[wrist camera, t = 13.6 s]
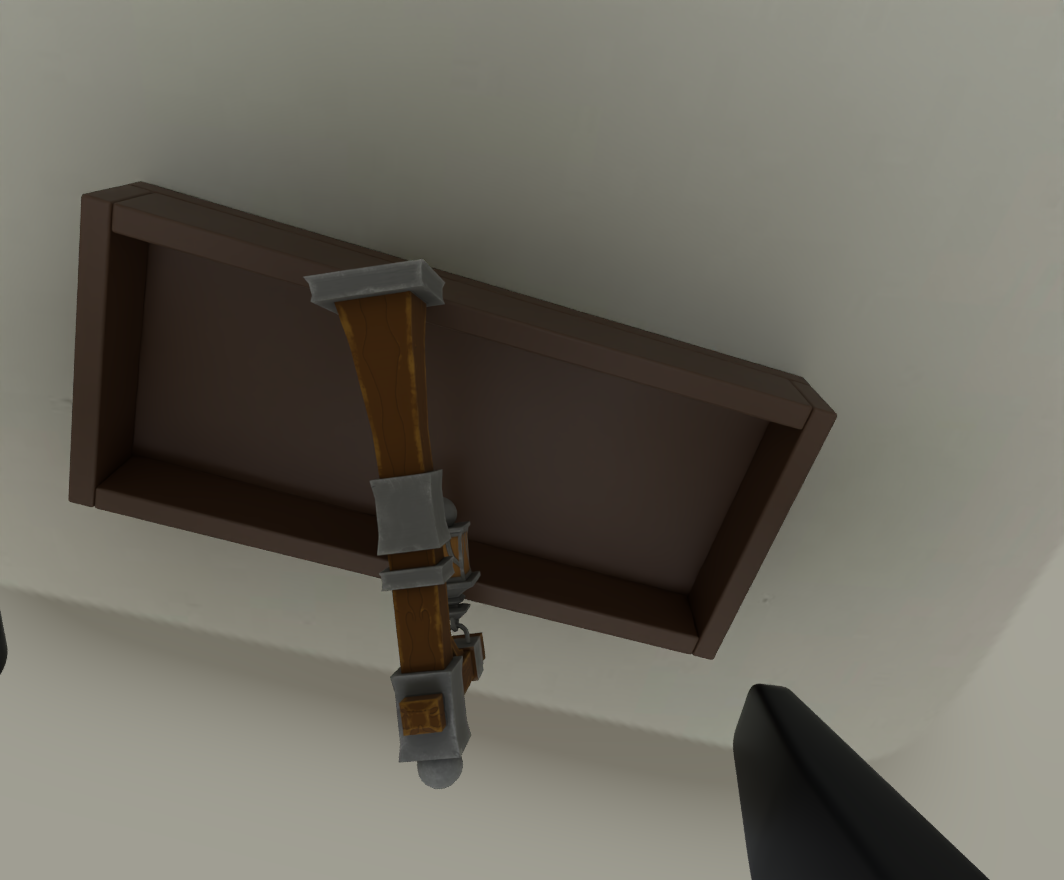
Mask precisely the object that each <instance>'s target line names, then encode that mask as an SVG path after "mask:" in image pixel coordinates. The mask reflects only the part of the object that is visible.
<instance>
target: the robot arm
mask: <svg viewBox="0 0 1064 880" xmlns="http://www.w3.org/2000/svg"><path fill="white" fill-rule="evenodd" d="M6 659H7V643H6V638H5V633H4V628H3V622H2V617H1V612H0V674H1V672H2V670H3V668H4V666H5V663H6ZM733 752H734V760H735V767H736V774H737V782H738V788H739V796H740V803H741V811H742V818H743V825H744V832H745V840H746V847H747V854H748V861H749V867H750V873H751V878H752V880H989V879H988V878H987V877H986V876H985V875H984V874H983V873H982V872H981V871H980V870H979V869H978V868H977V867H976V866H975V865H974V864H973V863H971V862H970V861H969V860H968V859H967V858H966V857H965V856H964V855H963V854H962V853H961V852H960V851H959V850H958V849H957V848H956V847H955V846H954V845H953V844H952V843H950V842H949V841H948V840H947V839H946V838H945V837H944V836H943V835H942V834H941V833H940V832H939V831H938V830H937V829H936V828H935V827H934V826H933V825H932V824H931V823H929V822H928V821H927V820H926V819H925V818H924V817H923V816H922V815H921V814H920V813H919V812H918V811H917V810H916V809H915V808H914V807H913V806H911V804H910V803H908V802H907V801H906V800H905V799H904V798H903V797H902V796H901V795H900V794H899V793H898V792H897V791H896V790H895V789H894V788H893V787H892V786H891V785H890V784H889V783H887V782H886V781H885V780H884V779H883V778H882V777H881V776H880V775H879V774H878V773H877V772H876V771H875V770H874V769H873V768H872V767H870V765H869V764H867V763H866V762H865V761H864V760H863V759H862V758H861V757H860V756H859V755H858V754H857V753H856V752H855V751H854V750H853V749H852V748H851V747H850V746H849V745H848V744H846V743H845V742H844V741H843V740H842V739H841V738H840V737H839V736H838V735H837V734H836V733H835V732H834V731H833V730H832V729H831V728H830V727H829V726H828V725H827V724H825V723H824V722H823V721H822V720H821V719H820V718H819V717H818V716H817V715H816V714H815V713H814V712H813V711H812V710H811V709H810V708H809V707H808V706H807V705H805V704H804V703H803V702H802V701H801V700H800V699H799V698H798V697H797V696H796V695H795V694H794V693H793V692H792V691H790V690H789V689H788V688H786V687H782V686H775V685H766V684H756V685H754V686H752V687H751V689H750V690H749V692H748V695H747V698H746V701H745V704H744V706H743V709H742V712H741V715H740V718H739V721H738V724H737V727H736V730H735V733H734V740H733Z"/></svg>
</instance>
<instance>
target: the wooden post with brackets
mask: <svg viewBox="0 0 1064 880" xmlns="http://www.w3.org/2000/svg"><path fill="white" fill-rule="evenodd" d="M304 278H305V280H306V281H307V282H308V283H309V286H310V290H311V294H312V297H311V301H310V302H312V303H314V304H317V305H319V306H321V307H323V308H325V309H327V310H330V311H332V312H334V313H336V314H338V315H339V318H340V321H341V323H342V326H343V329H344V332H345V334H346V337H347V340H348V343H349V346H350V349H351V353H352V357H353V361H354V365H355V369H356V372H357V376H358V380H359V384H360V388H361V392H362V396H363V399H364V403H365V407H366V411H367V415H368V419H369V423H370V427H371V430H372V435H373V441H374V447H375V454H376V460H377V466H378V472H379V479H375V480H371V481H370V484H371V488H372V491H373V494H374V497H375V504H376V513H377V523H378V532H379V540H378V551H377V556H378V555H386V554H387V556H388V562H389V567H388V568H386V569H385V570H383V571H382V572H380V573H379V575H380V576H381V579H382V591H388V590H392V593H393V602H394V611H395V620H396V629H397V638H398V647H399V656H400V665H401V667H400V668H399V669H398V670H397V671H396V672H395V673H394V674H393V675H392V676H391V677H390V678H391V681H392V685H393V688H394V691H395V697H396V707H397V717H398V727H399V737H400V753H399V762H411V761H417V767H418V773H419V777H420V778H421V780H422V781H423V782H424V783H425V784H426V785H427V786H430V787H432V788H434V789H443V788H446V787H449V786H451V785H452V784H453V783H454V782H455V781H456V780H457V779H458V778H459V776H460V774H461V772H462V768H463V761H462V757H461V755H462V753H463V751H464V749H465V747H466V745H467V743H468V741H469V738H470V737H471V732H470V729H469V726H468V722H467V717H466V708H465V698H464V695H465V693H466V691H467V689H468V687H469V685H470V683H471V681H476V680H479V678H480V676H481V674H482V672H483V664H484V663H483V660H484V659H485V651H484V643H483V636H482V633H473V634H469V632H468V629H467V628H466V627H465V626H464V625H463V624H460V623H459V618H461V617H462V616H463V615H464V614H465V613H466V612H467V610H468V609H469V607H470V604H466V603H462V604H459V603H461V602H462V601H463V600H464V598H465V597H466V596H465V595H464V594H462V593H463V592H464V591H465V590H467V589H469V588H471V587H473V586H474V584H475V583H476V581H477V580H478V578H479V577H480V571H475V572H472V571H471V568H470V565H469V552H468V538H467V533H468V527H469V526H470V521H467V522H459V523H455V521H456V518H457V510H456V507H455V505H454V503H453V502H452V501H451V500H449V499H447V498H444V497H443V494H442V470H443V469H441V470H433V462H432V454H431V446H430V438H429V430H428V410H427V387H426V363H425V325H426V307H429V306H436V305H443V304H445V303H444V301H443V297H442V288H443V286H444V284H445V282H444V281H443V280H442V279H441V278H440V277H439V275H438V274H437V273H436V272H435V271H434V270H433V269H432V268H431V267H430V266H429V265H428V264H427V263H426V262H425V261H424V260H423V259H418V260H411V261H404V262H398V263H391V264H384V265H378V266H371V267H364V268H358V269H351V270H344V271H338V272H331V273H325V274H318V275H311V276H305V277H304ZM450 623H451V625H450ZM458 628H460V629H462V630H463V631H464V635H456V636H451V629H452V630H453V631H454V632H456V631H458Z"/></svg>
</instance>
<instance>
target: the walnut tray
mask: <svg viewBox="0 0 1064 880" xmlns="http://www.w3.org/2000/svg"><path fill="white" fill-rule="evenodd" d="M404 261H408V260H404V259H401V258H398V257H394V256H391V255H388V254H384V253H381V252H377V251H374V250H371V249H367V248H364V247H361V246H357V245H354V244H350V243H347V242H344V241H340V240H337V239H334V238H330V237H327V236H323V235H320V234H317V233H313V232H310V231H307V230H303V229H300V228H296V227H293V226H290V225H286V224H283V223H280V222H276V221H273V220H269V219H266V218H263V217H259V216H256V215H253V214H249V213H246V212H242V211H239V210H236V209H232V208H229V207H226V206H222V205H219V204H215V203H212V202H209V201H205V200H202V199H199V198H195V197H192V196H188V195H185V194H182V193H178V192H175V191H172V190H168V189H165V188H161V187H158V186H155V185H151V184H148V183H145V182H135V183H131V184H128V185H122V186H118V187H113V188H109V189H104V190H100V191H95V192H90V193H86V194H83V195H82V197H81V219H80V243H79V266H78V289H77V313H76V336H75V360H74V383H73V406H72V430H71V453H70V476H69V501H70V502H73V503H77V504H81V505H85V506H89V507H94V506H95V508H97V509H101V510H105V511H109V512H113V513H117V514H121V515H125V516H129V517H134V518H138V519H142V520H146V521H150V522H154V523H158V524H162V525H166V526H170V527H174V528H178V529H182V530H186V531H190V532H194V533H198V534H203V535H207V536H211V537H215V538H219V539H223V540H227V541H231V542H235V543H239V544H243V545H247V546H251V547H255V548H259V549H263V550H268V551H272V552H276V553H280V554H284V555H288V556H292V557H296V558H300V559H304V560H308V561H312V562H316V563H320V564H324V565H328V566H333V567H337V568H341V569H345V570H349V571H353V572H357V573H361V574H365V575H369V576H373V577H377V578H381V576H380V575H379V573H380V572H382V571H383V570H385V569H386V568H388V567H389V562H388V556H387V554H386V555H378V556H377V551H378V540H379V532H378V523H377V513H376V504H375V497H374V494H373V491H372V488H371V484H370V481H371V480H375V479H379V472H378V466H377V460H376V454H375V447H374V441H373V435H372V430H371V427H370V423H369V419H368V415H367V411H366V407H365V403H364V399H363V396H362V392H361V388H360V384H359V380H358V376H357V372H356V369H355V365H354V361H353V357H352V353H351V349H350V346H349V343H348V340H347V337H346V334H345V332H344V329H343V326H342V323H341V321H340V318H339V315H338V314H336V313H334V312H332V311H330V310H327V309H325V308H323V307H321V306H319V305H317V304H314V303H312V302H310V301H311V297H312V294H311V290H310V286H309V283H308V282H307V281H306V280H305V278H304V277H305V276H311V275H318V274H325V273H331V272H338V271H344V270H351V269H358V268H364V267H371V266H378V265H384V264H391V263H398V262H404ZM432 269H433V270H434V271H435V272H436V273H437V274H438V275H439V277H440V278H441V279H442V280H443V281H444V282H445V284H444V286H443V288H442V297H443V301H444V303H445V304H443V305H436V306H429V307H426V325H425V363H426V387H427V410H428V430H429V438H430V446H431V454H432V462H433V470H441V469H443V470H442V494H443V497H444V498H447V499H449V500H451V501H452V502H453V503H454V505H455V507H456V510H457V518H456V521H455V523H459V522H467V521H470V526H469V527H468V533H467V538H468V552H469V565H470V568H471V571H472V572H475V571H480V577H479V578H478V580H477V581H476V583H475V584H474V586H473V587H471V588H469V589H467V590H465V591H464V592H463V593H462V594H464V595H465V596H466V597H465V598H464V599H467V600H471V601H475V602H479V603H483V604H487V605H491V606H495V607H499V608H503V609H507V610H511V611H515V612H519V613H523V614H528V615H532V616H536V617H540V618H544V619H548V620H552V621H556V622H560V623H564V624H568V625H572V626H576V627H580V628H584V629H588V630H592V631H597V632H601V633H605V634H609V635H613V636H617V637H621V638H625V639H629V640H633V641H637V642H641V643H645V644H649V645H653V646H657V647H662V648H666V649H670V650H674V651H678V652H682V653H686V654H693V655H694V656H698V657H702V658H706V659H710V660H713V659H714V657H715V655H716V653H717V651H718V649H719V647H720V645H721V643H722V641H723V639H724V637H725V635H726V633H727V631H728V629H729V628H730V626H731V624H732V622H733V620H734V618H735V616H736V614H737V612H738V610H739V608H740V606H741V604H742V602H743V600H744V598H745V596H746V594H747V592H748V590H749V588H750V586H751V584H752V582H753V580H754V579H755V577H756V575H757V573H758V571H759V569H760V567H761V565H762V563H763V561H764V559H765V557H766V555H767V553H768V551H769V549H770V547H771V545H772V543H773V541H774V539H775V537H776V535H777V533H778V532H779V530H780V528H781V526H782V524H783V522H784V520H785V518H786V516H787V514H788V512H789V510H790V508H791V506H792V504H793V502H794V500H795V498H796V496H797V494H798V492H799V490H800V488H801V486H802V484H803V483H804V481H805V479H806V477H807V475H808V473H809V471H810V469H811V467H812V465H813V463H814V461H815V459H816V457H817V455H818V453H819V451H820V449H821V447H822V445H823V443H824V441H825V439H826V437H827V435H828V434H829V432H830V430H831V428H832V426H833V424H834V422H835V420H836V418H837V414H836V413H835V411H834V410H833V409H832V408H831V407H830V406H829V405H828V404H827V403H826V402H825V401H824V400H823V399H822V398H821V396H820V395H819V394H818V393H817V392H816V391H815V390H814V389H813V388H812V387H811V386H810V385H809V383H808V382H807V381H806V380H805V379H804V378H803V377H799V376H796V375H793V374H789V373H786V372H782V371H779V370H776V369H772V368H769V367H766V366H762V365H759V364H755V363H752V362H749V361H745V360H742V359H739V358H735V357H732V356H728V355H725V354H722V353H718V352H715V351H712V350H708V349H705V348H701V347H698V346H695V345H691V344H688V343H685V342H681V341H678V340H674V339H671V338H668V337H664V336H661V335H658V334H654V333H651V332H647V331H644V330H641V329H637V328H634V327H631V326H627V325H624V324H620V323H617V322H614V321H610V320H607V319H604V318H600V317H597V316H593V315H590V314H587V313H583V312H580V311H577V310H573V309H570V308H566V307H563V306H560V305H556V304H553V303H550V302H546V301H543V300H539V299H536V298H533V297H529V296H526V295H523V294H519V293H516V292H512V291H509V290H506V289H502V288H499V287H496V286H492V285H489V284H485V283H482V282H479V281H475V280H472V279H469V278H465V277H462V276H458V275H455V274H452V273H448V272H445V271H442V270H438V269H435V268H432Z"/></svg>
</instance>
